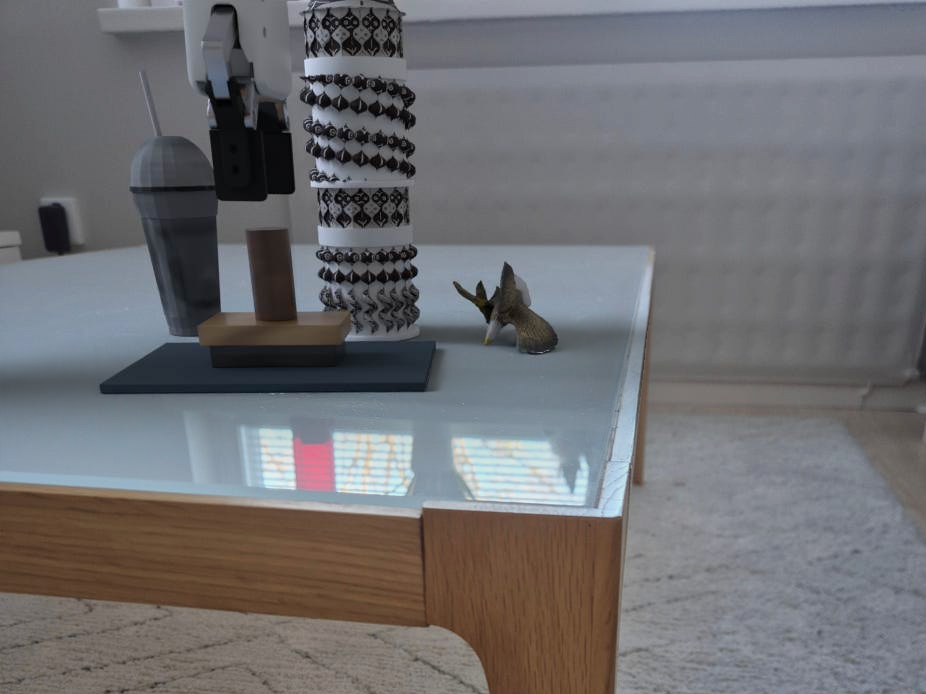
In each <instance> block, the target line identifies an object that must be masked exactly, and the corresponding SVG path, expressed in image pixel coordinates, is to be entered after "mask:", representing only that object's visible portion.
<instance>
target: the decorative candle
mask: <svg viewBox="0 0 926 694" xmlns="http://www.w3.org/2000/svg"><path fill="white" fill-rule="evenodd" d="M298 14H299V15H300V16H301V17H302V20H303V21H302V23H303V33H304V45H305V46H304V47H305V57H306V59H303V64H304V74H305V76H304V75H302V76H301V75H300V76H299V77H298V78H299V79H300V80H302V81H304V83H305V84H307V83H309V86H308V87H307V85H305V86H304V87H303V88H301V90H300V91H299V92H298V94H297V96H298V97H297V98H298V100H300V102H302V103H304V104H305V105H306V106H310V107H311V112H312V115H311V114H309V115H308V116H307V117H306V118H304V120H303V121H302V127H303V129H304V131H306V132H307V133H308V134H310V135H311V138H309V139H308V140H307V141H306V143H305V145H304V151H305V152H306V153H308V154H309V155H311V156H312V157H313V158H315V166H313V167H312V168H311V169H309V172H308V178H309V180H310V187H311V188H316V193H317V194H316V196H317V209H318V220H319V225H317V235H318V237H317V238H318V245H320V246H321V247H319V248H318V249H317V250H316V251H315V257H316V259H318V260H319V261H321V262H323V264H324V265H323V266H322V267H321V268H320V269H319V270H318V271H317V277H318V278H319V279H320V280H323V281H324V282H325V285H324V287H323V288H322V289H321V290H320V292H319V293H318V299H319V301H320V302H321V303H322V305H324V306H325V307H324V308H323V309H322V311H350V314H351V328H352V330H351V331H350V333H349V334H348V336H347V337H346V338H345V341H406V340H409V339H412V338H415V337H418V336H419V335H420V326H419V325H417V324H415V323H416V321H418V320H419V319H420V314H421V310H420V308H419V307H418V306H417V305H416V303H417V301H418V300H419V298H420V290H419V289H418V288H417V287H416V286H415V284H414V283H413V282H412V280H413V279H414V278H417V276H418V275H419V274H418V273H419V269H418V267H416V265H413V263H412V262H411V261H412V260H414V259H415V258H416V257H417V255H418V253H419V250H418V248H416V247H415V246H414V245H412V244H413V243H414V235H413V233H414V232H413V223H411V218H410V195H409V191H410V187H414V186H415V180H414V178H412V177H414V176H415V175H416V173H417V169H416V166H415V165H414V164H413V163H411V162H410V161H409V158H410V157H411V156H413V155H414V153H415V152H416V145H415V144H414V143H413V142H411V141H410V140H409V139H408V137H407V138H406V131H408V132H407V133H408V134H409V132H410V129H412V128H413V127H415V125H416V124H417V117H416V116H415V114H413V113H412V112H411V111H410V110H409V108H410V107H412V105H414V103H415V101H416V99H417V97H416V94H415V92H414V91H412V90H411V88H409V87H408V85H405V84H406V82H407V81H408V77H407V76H408V75H407V60H406V59H405V58H404V35H403V34H404V33H403V17H407V13H406V12H405V11H401V10H400V9H399V8H398V7H397V5H396V3H395V2H394V0H309V2H308V5H307V7H306V8H305V10H302V11H300V12H298Z"/></svg>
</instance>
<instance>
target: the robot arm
mask: <svg viewBox="0 0 926 694" xmlns="http://www.w3.org/2000/svg"><path fill="white" fill-rule="evenodd" d="M181 3H182V4H181V5H182V17H183V30H184V43H185V44H184V45H185V56H186V57H185V58H186V67H187V77H188V83H189V84H190V86H191V88H192V89H193V90H194V91H195V92H196V93H197V94H198V95H200V96H201V97H206V98H208V100H207V101H208V102H207V112H206V115H207V123H208V127H209V129H208V133H209V134H208V135H209V143H210V152H211V153H210V154H211V162H212V168H213V172H214V181H215V191H216V196H217V198H218V201H221V202H251V203H253V202H255V203H256V202H257V203H258V202H259V203H261V202H265V201H266V200H267V199H268V196H269V195H280V196H281V195H284V196H285V195H287V196H289V195H293V194H294V193H295V192H296V179H295V178H296V177H295V176H296V175H295V165H294V164H295V163H294V150H293V136H292V132H291V121H290V115H289V109H288V104H287V98H288V97H289V96H290V95H291V93H292V90H293V89H292V87H293V71H292V69H293V68H292V50H291V49H292V48H291V34H290V19H289V7H288V0H181Z"/></svg>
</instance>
